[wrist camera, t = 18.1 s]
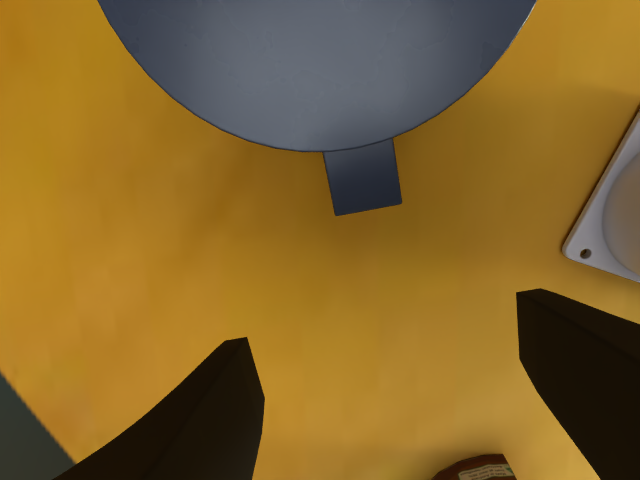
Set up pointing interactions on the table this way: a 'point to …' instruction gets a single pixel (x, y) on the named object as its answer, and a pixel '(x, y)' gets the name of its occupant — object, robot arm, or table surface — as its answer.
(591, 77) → the table surface
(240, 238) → the table surface
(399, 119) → the lid
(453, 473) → the food container
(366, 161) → the pot
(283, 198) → the table surface
